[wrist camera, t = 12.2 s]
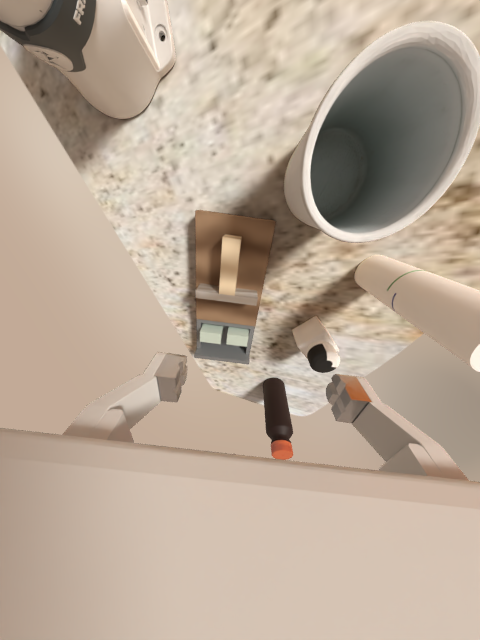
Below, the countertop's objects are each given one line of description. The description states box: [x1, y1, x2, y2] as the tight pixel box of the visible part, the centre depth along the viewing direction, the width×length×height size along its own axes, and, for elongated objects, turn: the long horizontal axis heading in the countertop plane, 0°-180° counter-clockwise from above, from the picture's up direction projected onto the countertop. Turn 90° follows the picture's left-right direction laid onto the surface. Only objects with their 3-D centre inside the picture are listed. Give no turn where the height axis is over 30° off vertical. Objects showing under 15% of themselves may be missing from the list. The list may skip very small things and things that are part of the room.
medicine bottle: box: [292, 316, 340, 373], centre depth 43 cm, size 7×7×12 cm
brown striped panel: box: [195, 210, 276, 326], centre depth 39 cm, size 22×14×4 cm, turn 173°
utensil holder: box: [284, 21, 480, 243], centre depth 24 cm, size 15×15×18 cm
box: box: [194, 319, 255, 364], centre depth 47 cm, size 10×14×6 cm
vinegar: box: [263, 378, 293, 460], centre depth 51 cm, size 7×7×20 cm
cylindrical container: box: [354, 255, 480, 372], centre depth 29 cm, size 7×7×25 cm
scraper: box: [195, 234, 258, 306], centre depth 35 cm, size 12×12×4 cm
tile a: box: [200, 323, 224, 344], centre depth 46 cm, size 5×5×3 cm
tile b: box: [226, 326, 249, 347], centre depth 46 cm, size 5×5×3 cm
